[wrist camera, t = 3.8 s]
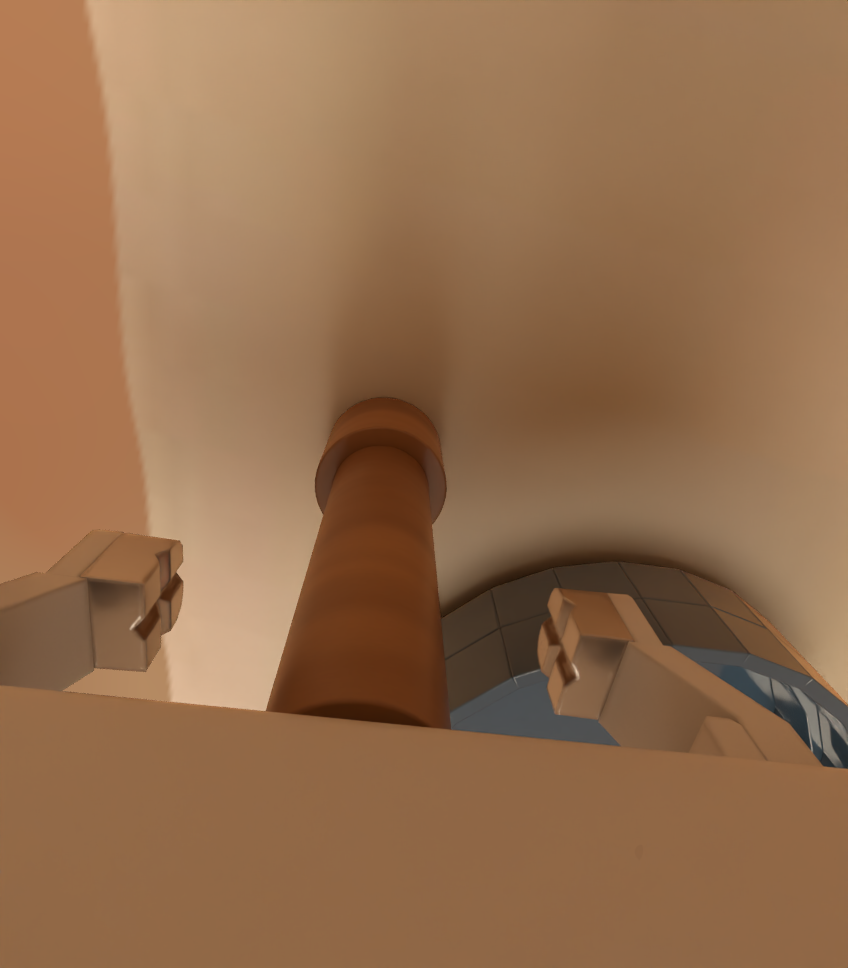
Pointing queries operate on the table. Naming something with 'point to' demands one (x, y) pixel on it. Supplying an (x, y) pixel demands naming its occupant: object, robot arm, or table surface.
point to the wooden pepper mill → (372, 578)
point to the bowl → (677, 623)
